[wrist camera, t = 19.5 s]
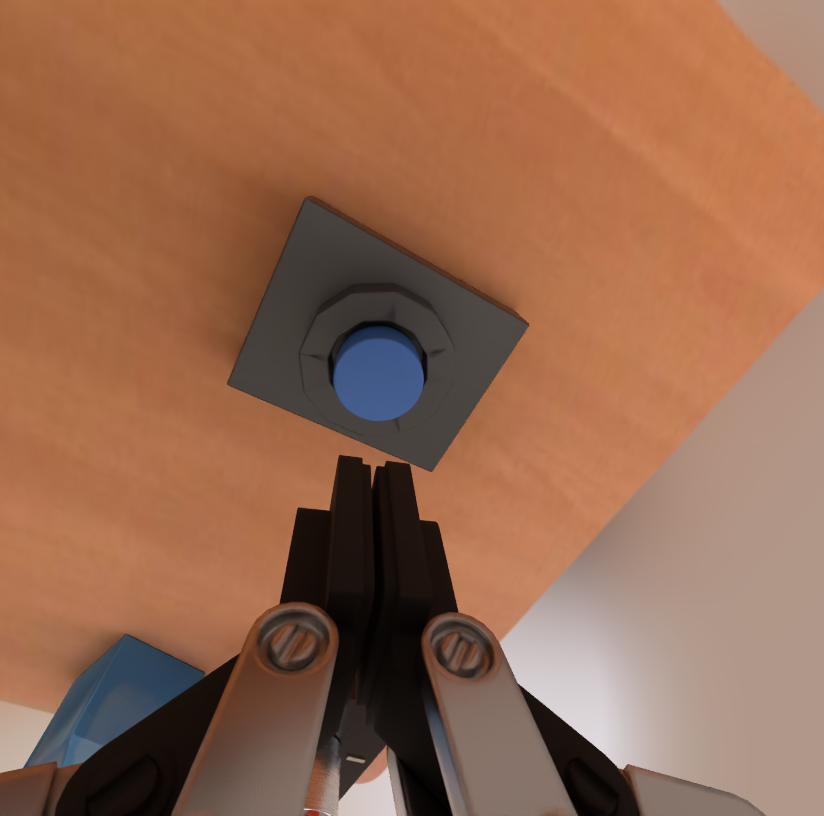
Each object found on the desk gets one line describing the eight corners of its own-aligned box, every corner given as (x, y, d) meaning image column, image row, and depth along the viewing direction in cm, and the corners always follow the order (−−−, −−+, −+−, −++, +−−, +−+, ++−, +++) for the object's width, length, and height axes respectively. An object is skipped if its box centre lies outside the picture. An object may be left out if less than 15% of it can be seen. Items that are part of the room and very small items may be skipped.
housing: (238, 367, 23) (214, 401, 20) (311, 194, 20) (298, 198, 16) (427, 451, 26) (436, 494, 23) (517, 312, 23) (543, 336, 20)
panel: (223, 734, 36) (210, 781, 33) (282, 637, 32) (274, 682, 29) (340, 759, 39) (338, 805, 36) (409, 673, 35) (412, 717, 32)
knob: (325, 770, 34) (319, 855, 30) (268, 759, 33) (253, 846, 29) (351, 737, 33) (348, 822, 28) (292, 724, 31) (279, 810, 27)
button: (322, 382, 20) (317, 399, 19) (359, 310, 19) (357, 321, 17) (395, 416, 21) (397, 435, 20) (435, 349, 20) (440, 363, 18)
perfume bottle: (205, 673, 33) (125, 912, 22) (154, 714, 34) (56, 956, 24) (125, 634, 31) (-7, 879, 20) (74, 680, 32) (-74, 930, 21)
